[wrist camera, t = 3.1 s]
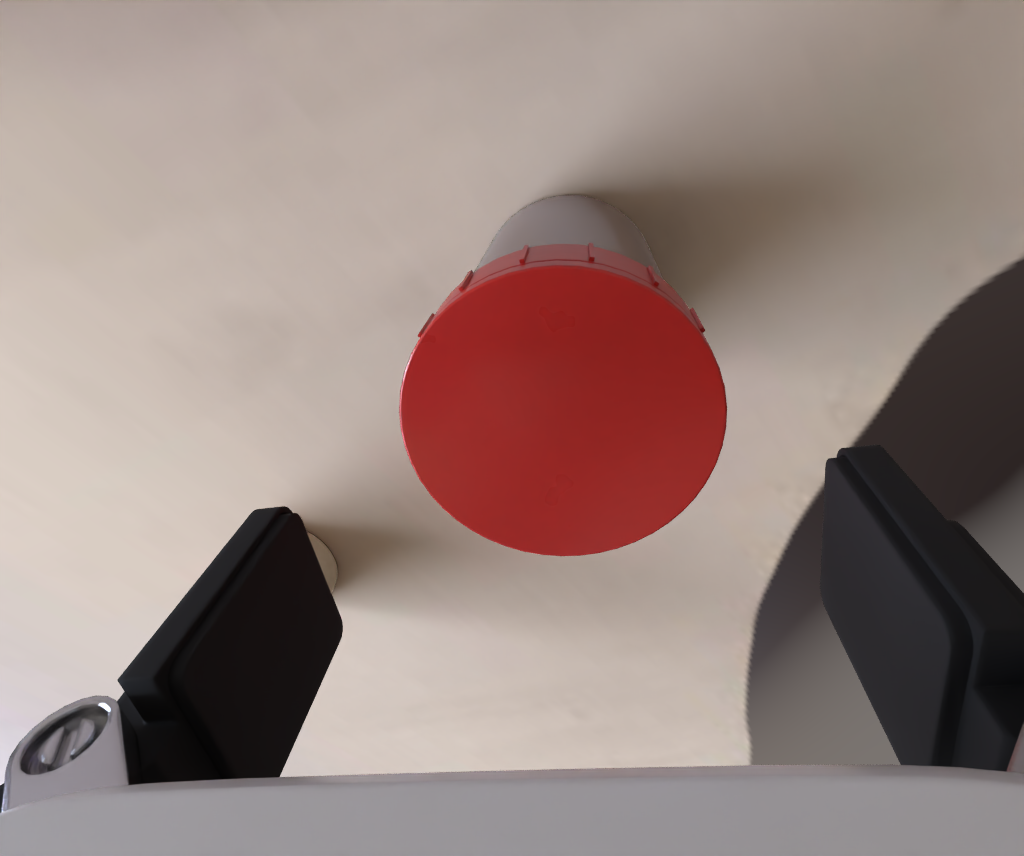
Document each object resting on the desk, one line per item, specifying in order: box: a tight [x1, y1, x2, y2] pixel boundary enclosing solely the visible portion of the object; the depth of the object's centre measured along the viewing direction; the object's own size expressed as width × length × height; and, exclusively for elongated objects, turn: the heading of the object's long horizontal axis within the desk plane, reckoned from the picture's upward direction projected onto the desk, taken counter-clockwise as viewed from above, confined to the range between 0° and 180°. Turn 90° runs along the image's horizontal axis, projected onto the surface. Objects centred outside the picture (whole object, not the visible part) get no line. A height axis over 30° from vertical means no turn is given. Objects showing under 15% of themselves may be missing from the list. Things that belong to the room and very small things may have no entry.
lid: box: [399, 243, 727, 556], centre depth 16 cm, size 8×8×2 cm
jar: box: [474, 195, 664, 280], centre depth 20 cm, size 7×7×12 cm
